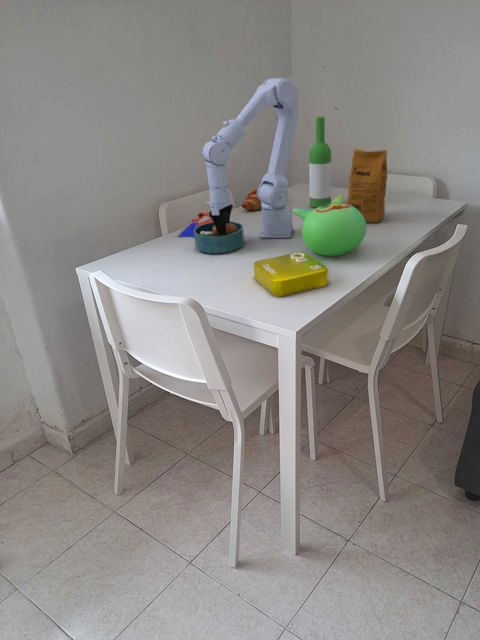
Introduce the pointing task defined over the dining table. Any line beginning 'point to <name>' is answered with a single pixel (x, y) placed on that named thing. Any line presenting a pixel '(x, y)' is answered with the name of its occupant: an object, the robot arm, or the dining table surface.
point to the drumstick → (229, 230)
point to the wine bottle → (320, 168)
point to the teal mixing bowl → (218, 239)
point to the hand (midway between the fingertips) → (223, 232)
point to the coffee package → (368, 184)
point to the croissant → (252, 201)
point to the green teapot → (332, 228)
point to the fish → (196, 224)
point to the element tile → (290, 273)
